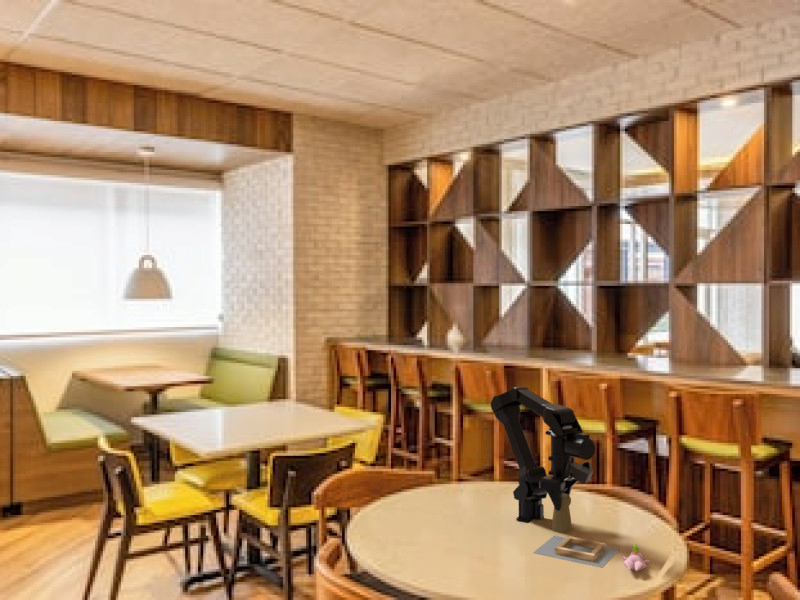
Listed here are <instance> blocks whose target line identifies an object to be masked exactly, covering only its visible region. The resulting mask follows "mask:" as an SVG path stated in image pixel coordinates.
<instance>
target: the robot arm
mask: <svg viewBox="0 0 800 600" xmlns="http://www.w3.org/2000/svg"><path fill="white" fill-rule="evenodd" d="M522 405H523V406H524V407H525V408H527V409H529V410H531V411H532V412H534V413H536V414H537V415H538V416H540V417H541V418H542V420H543V423H544V424H546V425H547V427H549V428H548V430H546V431H545V432H544V433H545V435H548V436H550V455H549V456H548V461H550V470H548V474H547V472H546V468H545V467H544V466H538V465H537V464H536V461H535V460H534V457H533V454H532V451H531V449H530V446H529V444H528V440H527V438H526V436H525V432H524V430H523V427H522V425H521V422H520V415H521V407H520V406H522ZM490 409H491V411H492V412H493V414H494V417H495V418H496V419H497V420H498V421H499V422H500V423H501V424H503V427H504V430H505V433H506V435H507V438H508V441H509V443H510V447H511V449H512V452H513V455H514V457H515V461H516V462H517V466H518V468H519V470H518V471H519V472H518V476H517V482H518V485H517V487H515V489H514V490H513V491H512V494H513V499H514V500H517V501H518V516H517V517H516V519H515V520H516V521H519V522H520V521H521V522H525V523H531V522H532V521H534V520H542V519H545V515H544V513H545V512H544V505H545V504H543V499H546V498H547V496H549V499H550V500H551V502H552V506H553V508H554V507H555V509H556V510H557V511H560V508H561V502H562V494H563V493H566V494H568V495H569V496H570V495H571V492H572V488H573V486H574V485H575V484H576V483H578V482H580V484H583V485H584V484H587V483H588V482H590V480H591V477H592V475H593V474H594V469H593V468H592V467H593V466H592V462H590V461H589V460H590V459H591V460H592V458H593V457H594V455H595V452H596V445H595V443H594V441H593V439H591V438H590V434H588V433H584V431H583V429H582V426H581V424H580V423H579V421H578V419H577V417H576V415H575V411H574V410H573V409H572V408H570V407H569V406H565V405H562V404H561V405H560V404H555V403H552V402H551V401H548V400H547V399H545V398H544V397H541V396H540V395H538V394H537V393H535V392H534V391H532V390H530V389H529V388H528V387H526V386H517V387H515V386H513V387H512V388H511V389H509V390H508V391H505V392H504V393H501V394H499V395H495V396H493V397H492V400H491V401H490ZM576 458H577V459H580V460H585V462H584V463H582V462H579V463H578V462H576ZM570 497H571V496H570Z"/></svg>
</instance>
